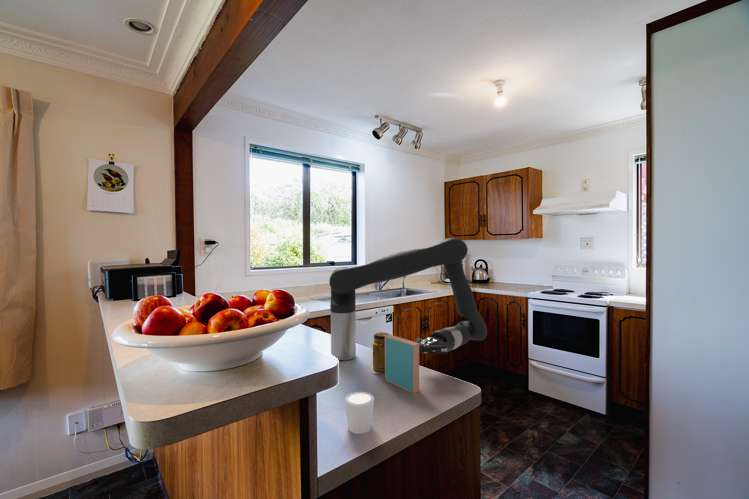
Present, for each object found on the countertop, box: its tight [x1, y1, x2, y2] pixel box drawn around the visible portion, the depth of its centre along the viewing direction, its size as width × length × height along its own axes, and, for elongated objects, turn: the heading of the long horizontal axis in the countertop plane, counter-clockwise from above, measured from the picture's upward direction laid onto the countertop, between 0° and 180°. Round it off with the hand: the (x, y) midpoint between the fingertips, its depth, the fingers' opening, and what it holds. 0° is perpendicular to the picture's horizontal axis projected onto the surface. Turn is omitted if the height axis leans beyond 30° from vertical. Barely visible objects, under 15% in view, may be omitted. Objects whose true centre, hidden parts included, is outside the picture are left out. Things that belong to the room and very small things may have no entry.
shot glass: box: [344, 391, 375, 435], centre depth 80 cm, size 7×7×7 cm
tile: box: [384, 334, 420, 394], centre depth 102 cm, size 2×12×14 cm, turn 42°
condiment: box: [370, 332, 390, 375], centre depth 114 cm, size 7×8×12 cm
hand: (413, 351), depth 106 cm, fingers closed
